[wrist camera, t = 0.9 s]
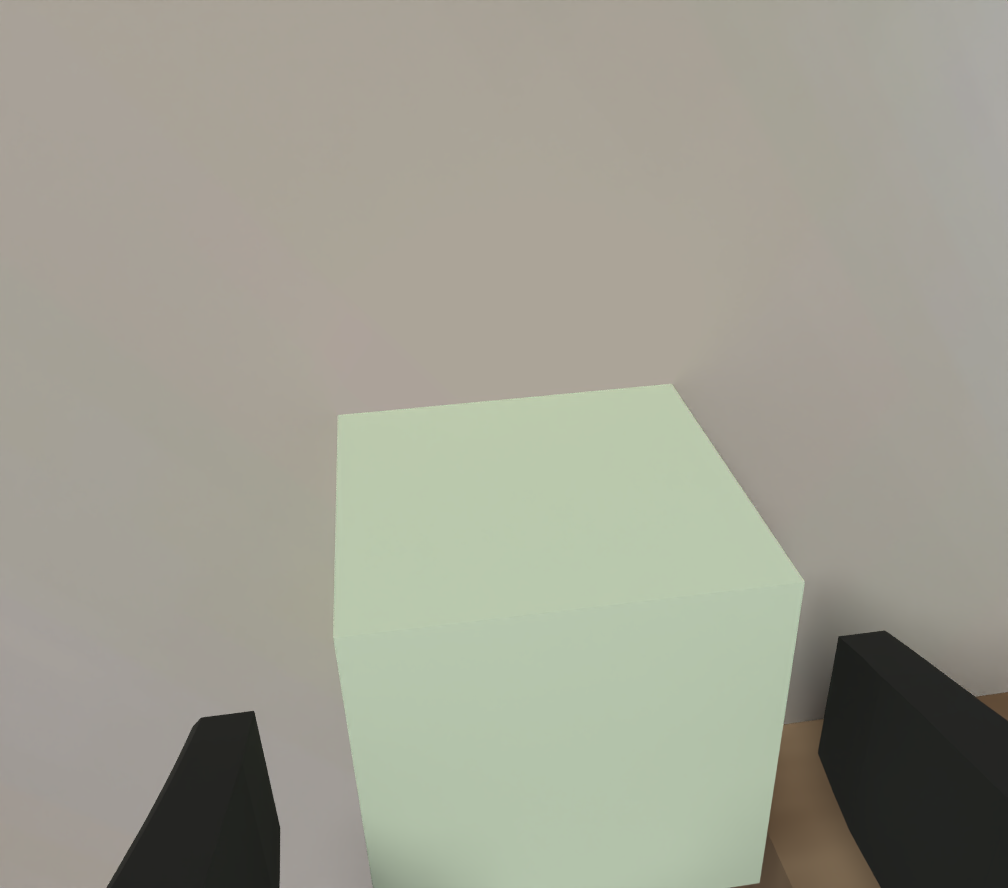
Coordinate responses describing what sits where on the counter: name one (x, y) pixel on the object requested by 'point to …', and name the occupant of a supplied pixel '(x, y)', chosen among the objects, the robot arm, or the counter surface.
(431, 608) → the sage cube
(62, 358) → the counter surface
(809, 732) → the walnut block
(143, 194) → the counter surface
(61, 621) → the counter surface
